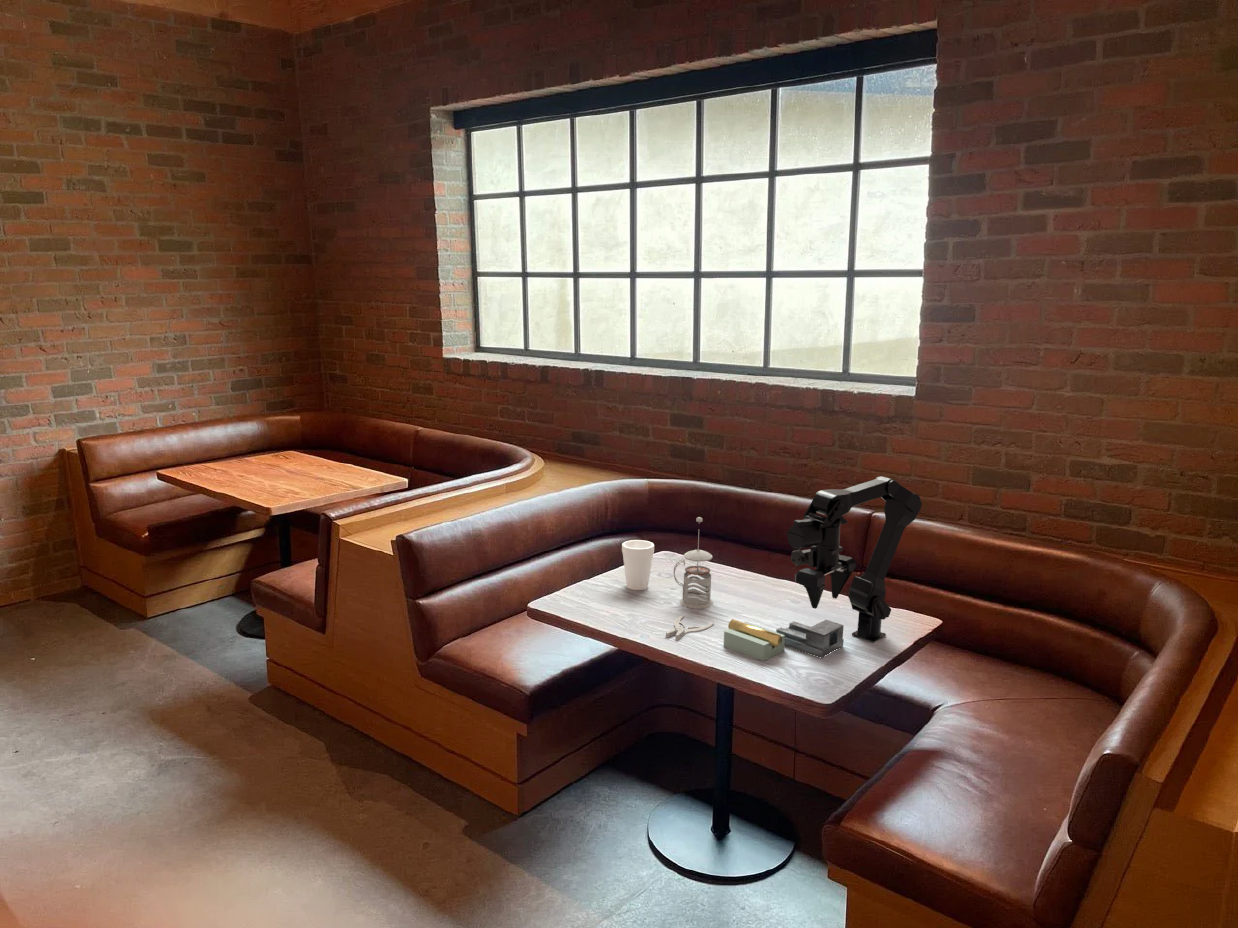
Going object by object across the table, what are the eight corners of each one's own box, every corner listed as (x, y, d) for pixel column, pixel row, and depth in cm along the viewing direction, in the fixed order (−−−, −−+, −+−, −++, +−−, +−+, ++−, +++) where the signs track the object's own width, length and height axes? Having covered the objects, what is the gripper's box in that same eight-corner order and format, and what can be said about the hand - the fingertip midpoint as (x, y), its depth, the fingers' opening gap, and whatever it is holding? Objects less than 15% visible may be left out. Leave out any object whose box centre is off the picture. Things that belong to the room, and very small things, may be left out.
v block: (744, 636, 224) (745, 621, 223) (784, 650, 216) (785, 635, 215) (723, 646, 218) (724, 631, 217) (763, 660, 209) (764, 645, 209)
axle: (735, 628, 222) (735, 617, 221) (781, 644, 212) (781, 633, 212) (728, 632, 220) (728, 621, 219) (774, 648, 210) (774, 637, 209)
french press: (715, 608, 243) (718, 522, 238) (673, 608, 243) (676, 521, 238) (712, 596, 252) (715, 512, 247) (672, 595, 252) (674, 512, 247)
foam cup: (658, 585, 261) (659, 543, 259) (643, 593, 254) (643, 551, 251) (631, 579, 266) (632, 538, 264) (615, 587, 258) (616, 545, 256)
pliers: (715, 619, 232) (688, 638, 219) (714, 625, 232) (688, 644, 219) (682, 611, 237) (654, 629, 224) (682, 617, 237) (654, 635, 225)
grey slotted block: (795, 630, 228) (796, 609, 227) (843, 646, 218) (844, 624, 217) (773, 641, 221) (774, 619, 220) (821, 658, 211) (823, 635, 210)
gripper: (819, 528, 224) (817, 585, 227) (777, 544, 211) (775, 604, 215) (858, 536, 216) (855, 596, 220) (817, 554, 204) (814, 616, 207)
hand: (824, 603), depth 215 cm, fingers open, 9 cm apart
